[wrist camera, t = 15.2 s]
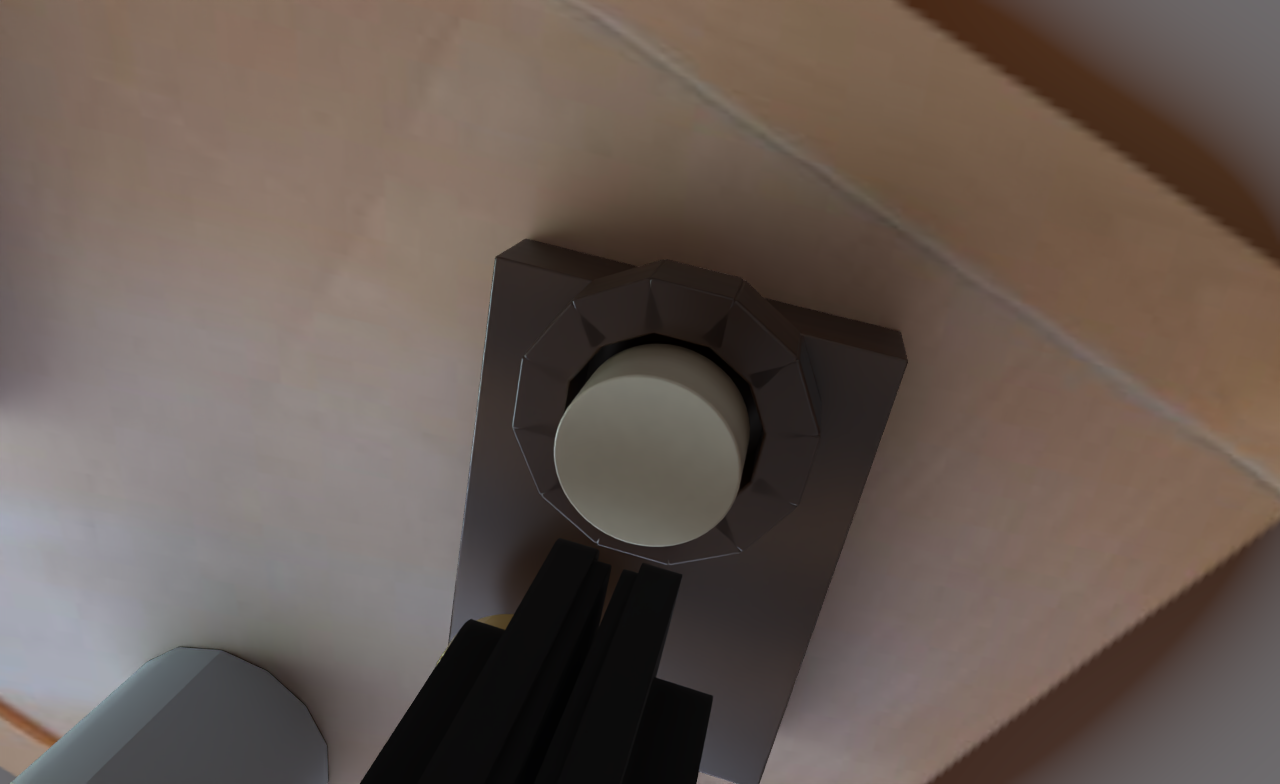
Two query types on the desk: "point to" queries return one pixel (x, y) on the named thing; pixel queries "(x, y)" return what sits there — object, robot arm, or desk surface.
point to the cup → (190, 729)
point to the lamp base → (770, 484)
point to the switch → (654, 446)
